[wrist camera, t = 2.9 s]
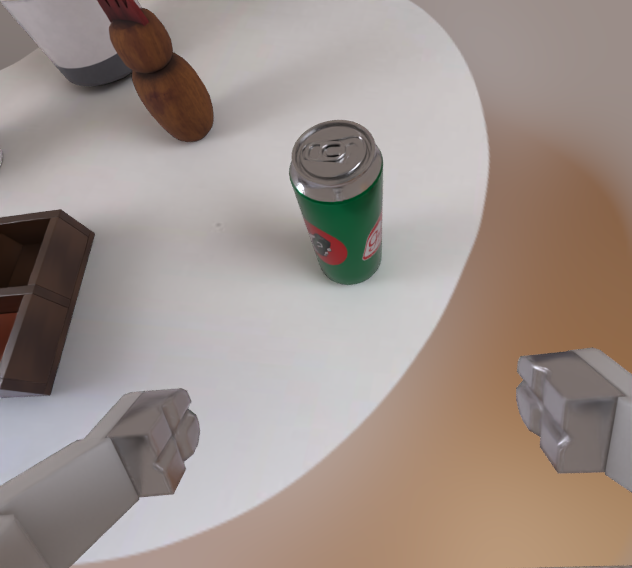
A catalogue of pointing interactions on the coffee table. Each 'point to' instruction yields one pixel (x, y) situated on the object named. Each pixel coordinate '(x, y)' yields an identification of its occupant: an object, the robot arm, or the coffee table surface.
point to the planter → (72, 38)
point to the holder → (37, 296)
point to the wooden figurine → (159, 71)
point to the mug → (1, 156)
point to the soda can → (340, 197)
